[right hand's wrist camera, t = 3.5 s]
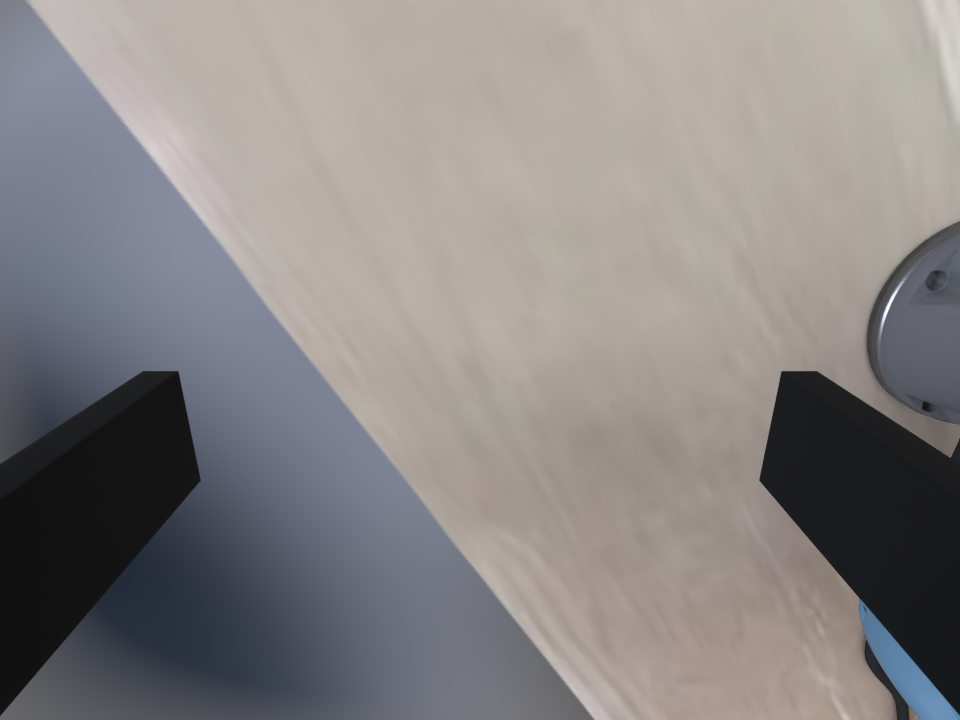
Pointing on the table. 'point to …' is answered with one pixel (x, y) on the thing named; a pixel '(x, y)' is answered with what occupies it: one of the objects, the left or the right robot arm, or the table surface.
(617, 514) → the table surface
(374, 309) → the table surface
